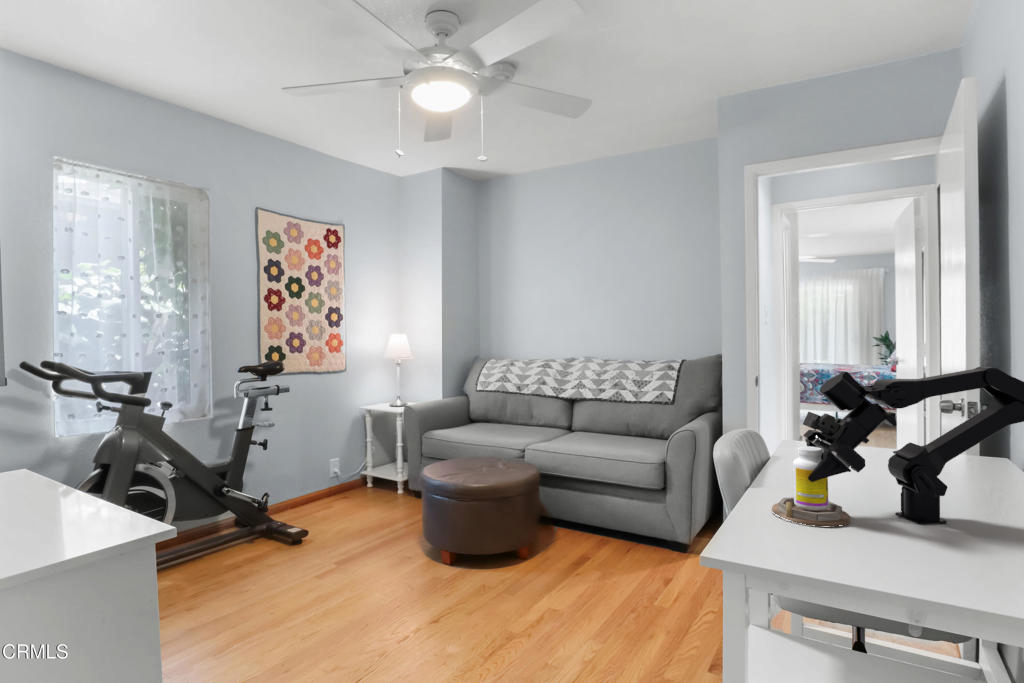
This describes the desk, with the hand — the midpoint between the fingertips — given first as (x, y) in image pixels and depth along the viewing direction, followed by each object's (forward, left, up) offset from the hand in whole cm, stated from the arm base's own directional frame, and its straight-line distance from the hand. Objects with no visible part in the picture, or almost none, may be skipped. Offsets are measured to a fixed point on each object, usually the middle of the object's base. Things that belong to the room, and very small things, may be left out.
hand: (803, 476), depth 120 cm
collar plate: (0, -1, -9) cm, 9 cm away
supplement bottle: (0, -1, -7) cm, 7 cm away
